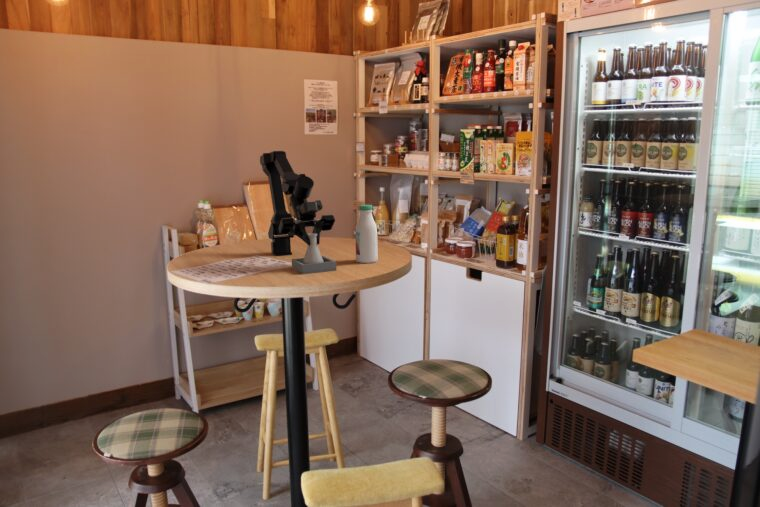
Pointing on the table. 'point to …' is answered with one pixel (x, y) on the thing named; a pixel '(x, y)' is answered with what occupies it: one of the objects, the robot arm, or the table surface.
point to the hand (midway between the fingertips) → (314, 244)
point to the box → (314, 266)
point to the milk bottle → (366, 236)
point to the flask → (312, 251)
